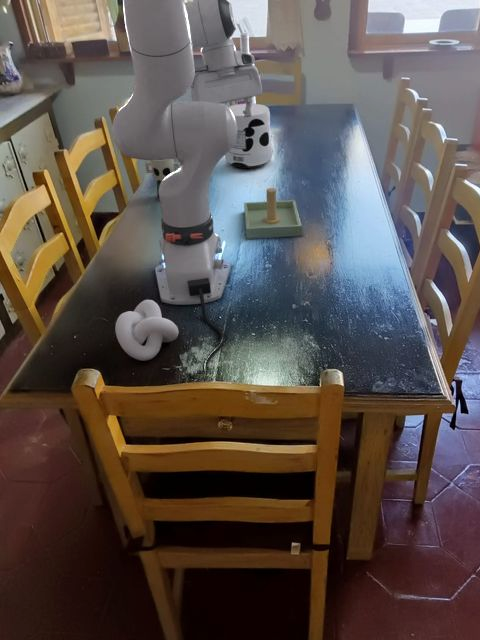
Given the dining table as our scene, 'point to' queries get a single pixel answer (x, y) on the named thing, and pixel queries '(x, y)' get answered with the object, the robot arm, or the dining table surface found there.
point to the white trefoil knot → (144, 330)
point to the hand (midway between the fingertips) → (233, 120)
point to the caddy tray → (272, 229)
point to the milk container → (251, 137)
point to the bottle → (246, 51)
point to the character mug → (161, 169)
